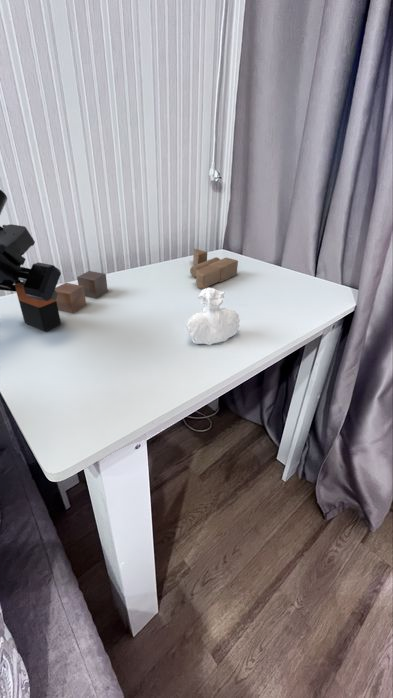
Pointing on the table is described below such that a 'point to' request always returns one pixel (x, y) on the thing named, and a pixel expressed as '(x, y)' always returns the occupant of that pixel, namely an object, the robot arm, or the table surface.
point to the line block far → (93, 284)
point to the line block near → (70, 297)
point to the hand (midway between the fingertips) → (41, 293)
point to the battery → (38, 310)
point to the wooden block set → (211, 269)
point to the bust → (212, 320)
